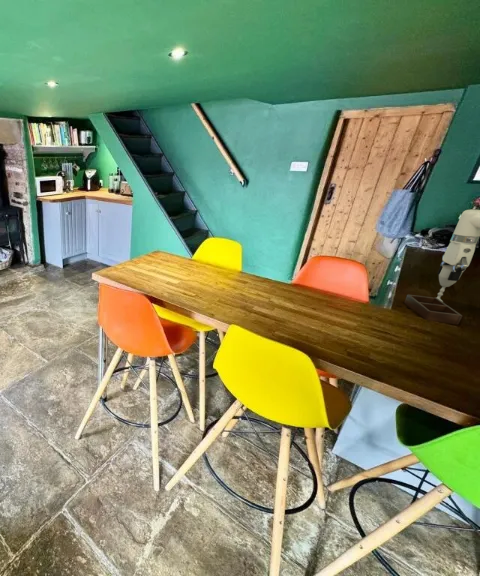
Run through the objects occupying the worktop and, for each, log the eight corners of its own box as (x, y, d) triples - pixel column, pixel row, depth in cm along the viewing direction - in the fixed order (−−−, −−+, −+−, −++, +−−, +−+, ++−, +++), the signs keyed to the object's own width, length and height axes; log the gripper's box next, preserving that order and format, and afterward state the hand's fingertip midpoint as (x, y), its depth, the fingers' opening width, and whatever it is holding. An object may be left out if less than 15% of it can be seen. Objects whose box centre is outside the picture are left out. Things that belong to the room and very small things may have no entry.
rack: (432, 308, 137) (436, 297, 135) (457, 327, 121) (462, 315, 119) (403, 304, 141) (407, 294, 139) (423, 322, 125) (428, 311, 123)
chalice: (448, 305, 140) (467, 268, 134) (445, 308, 136) (464, 270, 130) (426, 299, 146) (443, 264, 139) (422, 302, 142) (440, 265, 135)
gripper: (490, 244, 121) (470, 285, 127) (464, 236, 135) (447, 272, 142) (464, 242, 124) (446, 282, 130) (441, 234, 138) (426, 270, 145)
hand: (447, 277), depth 136 cm, fingers open, 7 cm apart
